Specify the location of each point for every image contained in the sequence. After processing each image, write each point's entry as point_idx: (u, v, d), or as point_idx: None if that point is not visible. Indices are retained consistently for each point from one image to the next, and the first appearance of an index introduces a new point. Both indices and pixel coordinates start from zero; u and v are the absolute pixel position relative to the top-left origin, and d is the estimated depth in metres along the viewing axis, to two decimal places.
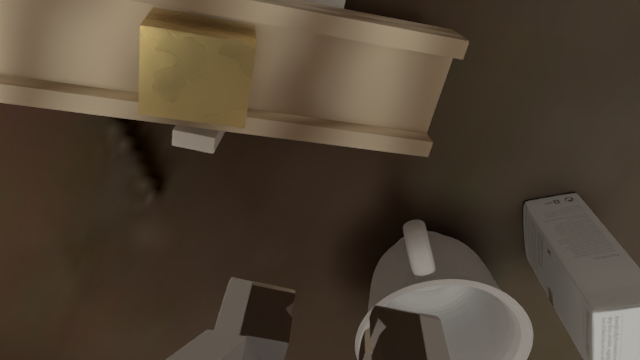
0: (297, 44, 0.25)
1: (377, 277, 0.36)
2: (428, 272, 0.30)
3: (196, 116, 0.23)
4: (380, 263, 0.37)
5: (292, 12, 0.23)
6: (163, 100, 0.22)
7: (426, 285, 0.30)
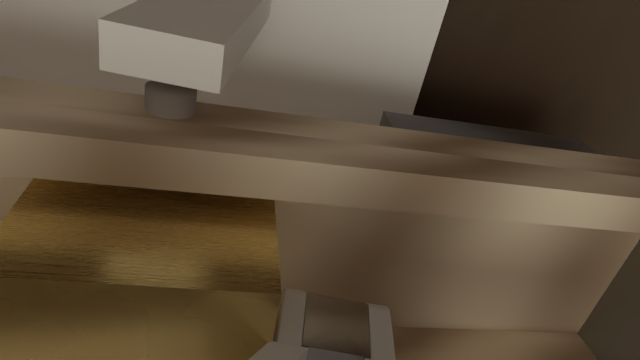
0: (357, 215, 0.12)
1: None
2: None
3: None
4: None
5: (356, 175, 0.10)
6: None
7: None
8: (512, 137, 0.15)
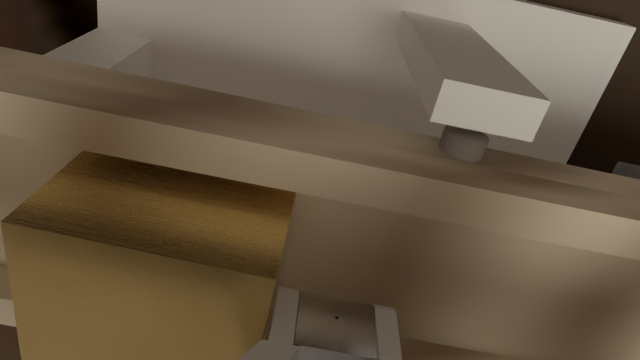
0: (612, 264, 0.13)
1: None
2: None
3: None
4: None
5: None
6: (70, 357, 0.10)
7: None
8: None
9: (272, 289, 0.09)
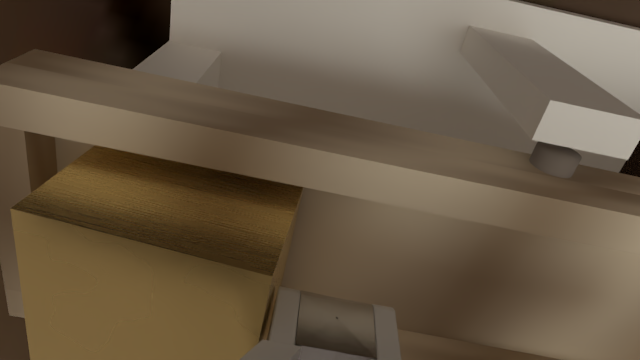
0: None
1: None
2: None
3: None
4: None
5: None
6: (75, 344, 0.10)
7: None
8: None
9: (269, 286, 0.09)
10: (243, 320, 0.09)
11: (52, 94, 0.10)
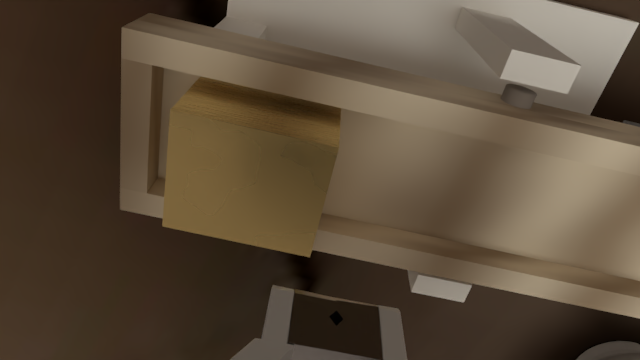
0: (618, 186, 0.18)
1: None
2: None
3: (242, 236, 0.16)
4: None
5: None
6: (197, 211, 0.16)
7: None
8: None
9: (336, 154, 0.14)
10: (317, 181, 0.15)
11: (175, 39, 0.15)
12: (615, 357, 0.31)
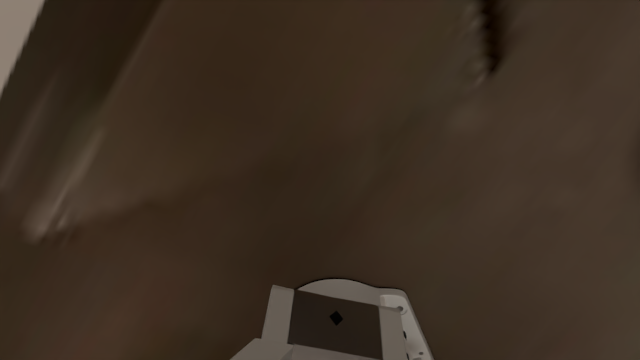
0: None
1: None
2: None
3: None
4: None
5: None
6: None
7: None
8: None
9: None
10: None
11: None
12: None
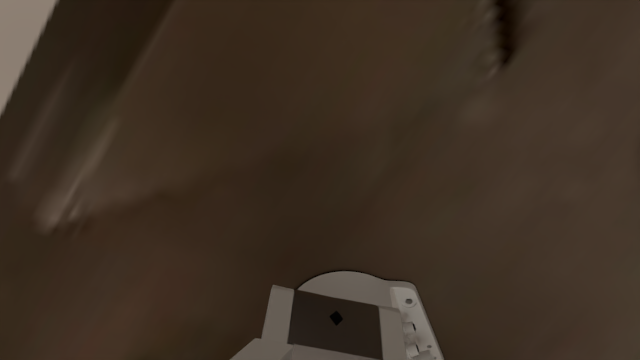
0: None
1: None
2: None
3: None
4: None
5: None
6: None
7: None
8: None
9: None
10: None
11: None
12: None
